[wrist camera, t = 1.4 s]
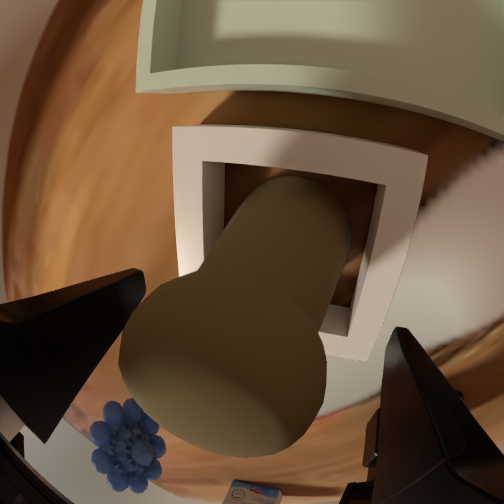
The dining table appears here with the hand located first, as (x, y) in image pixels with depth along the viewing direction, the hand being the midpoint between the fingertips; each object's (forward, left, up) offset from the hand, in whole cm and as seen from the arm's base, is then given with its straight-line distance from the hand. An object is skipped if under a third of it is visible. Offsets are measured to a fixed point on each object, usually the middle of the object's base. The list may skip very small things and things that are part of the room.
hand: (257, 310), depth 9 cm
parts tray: (-2, -14, -6) cm, 16 cm away
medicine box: (-1, +43, -7) cm, 43 cm away
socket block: (0, 0, -6) cm, 6 cm away
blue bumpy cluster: (+13, +26, -7) cm, 30 cm away
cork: (0, 0, -7) cm, 7 cm away
